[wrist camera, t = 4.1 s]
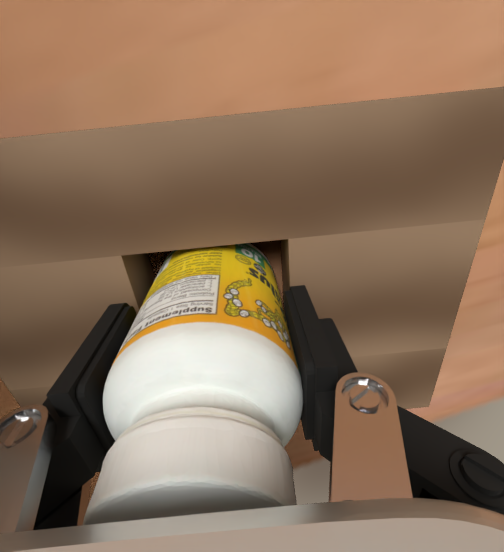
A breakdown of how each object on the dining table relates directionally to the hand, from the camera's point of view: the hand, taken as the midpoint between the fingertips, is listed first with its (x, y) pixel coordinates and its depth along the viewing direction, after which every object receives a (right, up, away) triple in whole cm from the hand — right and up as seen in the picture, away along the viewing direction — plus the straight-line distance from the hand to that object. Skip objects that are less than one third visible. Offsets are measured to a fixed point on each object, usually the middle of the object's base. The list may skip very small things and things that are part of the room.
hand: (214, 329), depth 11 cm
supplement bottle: (0, +2, +3) cm, 4 cm away
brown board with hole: (0, +2, +3) cm, 4 cm away
